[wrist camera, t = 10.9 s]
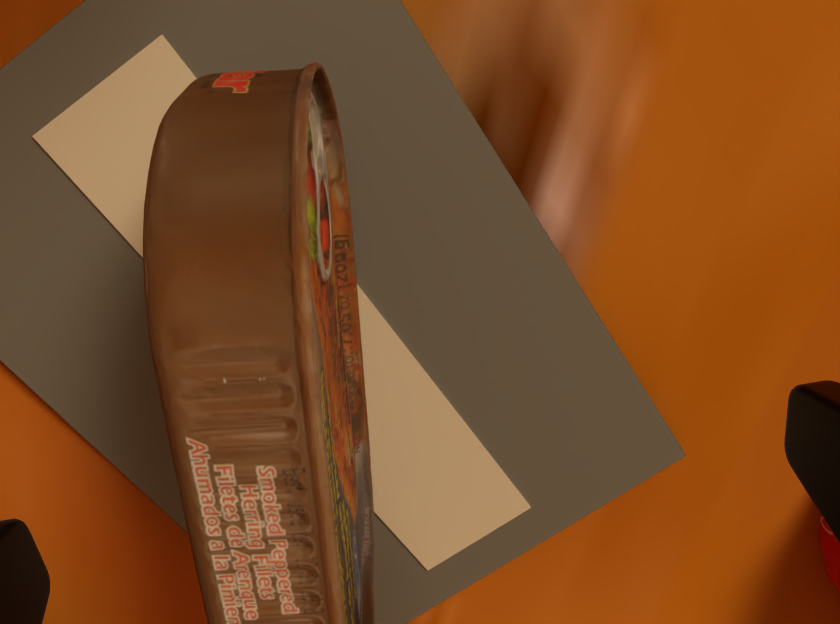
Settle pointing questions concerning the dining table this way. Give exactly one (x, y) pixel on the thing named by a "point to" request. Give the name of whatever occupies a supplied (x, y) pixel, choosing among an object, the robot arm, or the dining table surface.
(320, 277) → the tin
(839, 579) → the kitchen timer
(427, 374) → the mat
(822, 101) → the dining table surface
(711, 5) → the dining table surface
